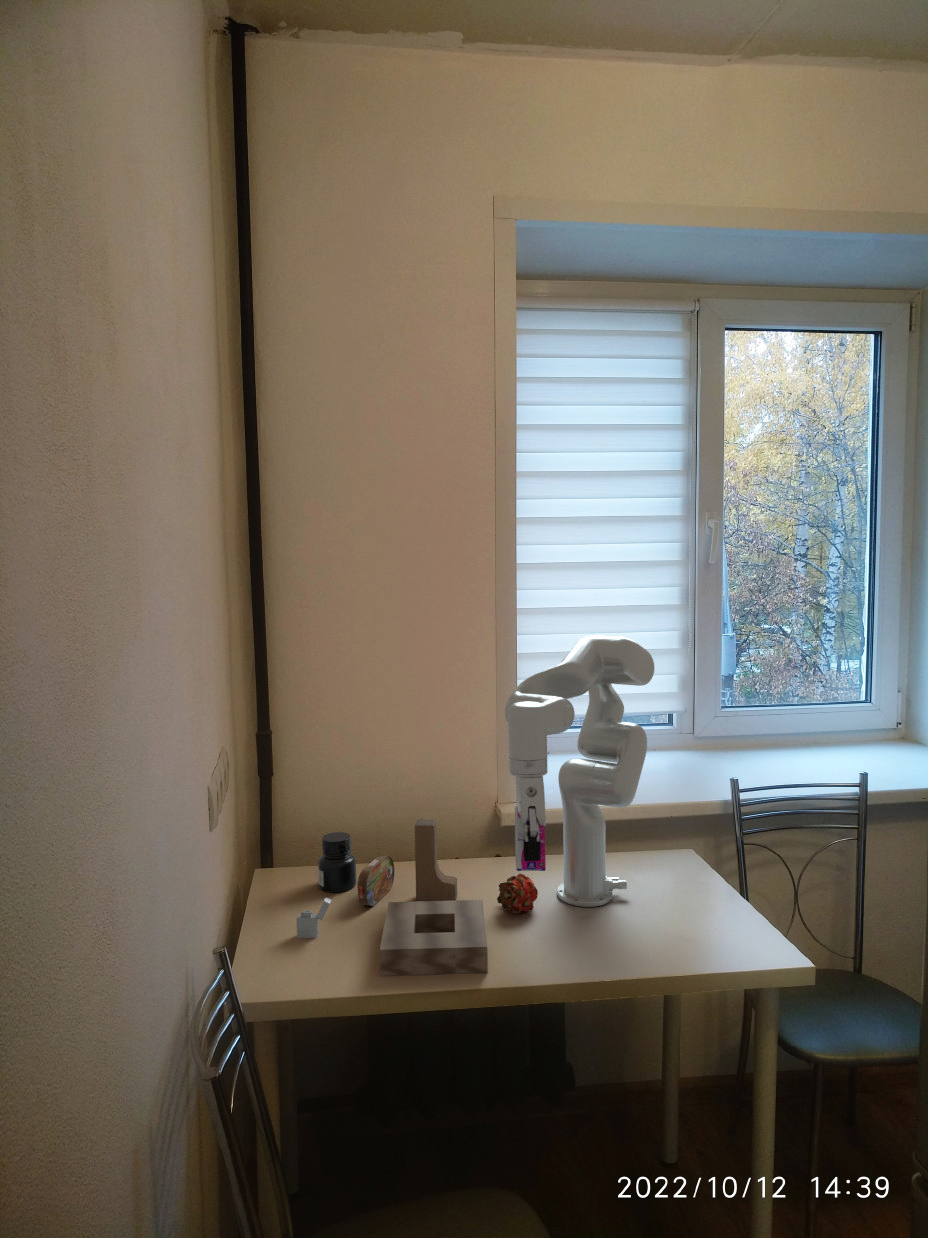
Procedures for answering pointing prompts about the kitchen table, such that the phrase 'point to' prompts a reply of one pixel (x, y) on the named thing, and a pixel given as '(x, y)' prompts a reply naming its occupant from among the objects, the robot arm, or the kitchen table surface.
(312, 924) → the lighter
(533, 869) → the supplement box
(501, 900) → the dragon fruit
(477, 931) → the socket block
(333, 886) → the ink bottle
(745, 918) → the kitchen table surface
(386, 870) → the tin
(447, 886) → the wooden block
